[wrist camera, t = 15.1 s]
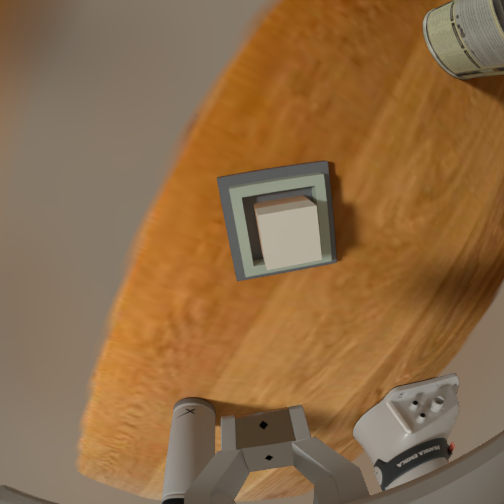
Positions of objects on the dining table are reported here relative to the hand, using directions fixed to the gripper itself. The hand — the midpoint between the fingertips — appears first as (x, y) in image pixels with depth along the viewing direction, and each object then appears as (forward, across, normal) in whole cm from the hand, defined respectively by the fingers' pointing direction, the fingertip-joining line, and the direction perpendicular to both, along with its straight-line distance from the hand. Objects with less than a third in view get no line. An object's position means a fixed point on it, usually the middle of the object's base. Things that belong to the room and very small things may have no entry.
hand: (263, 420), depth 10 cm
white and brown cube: (+22, -4, -1) cm, 23 cm away
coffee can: (+23, -30, -21) cm, 44 cm away
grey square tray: (+23, -4, -1) cm, 24 cm away
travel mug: (+24, +11, +26) cm, 37 cm away
